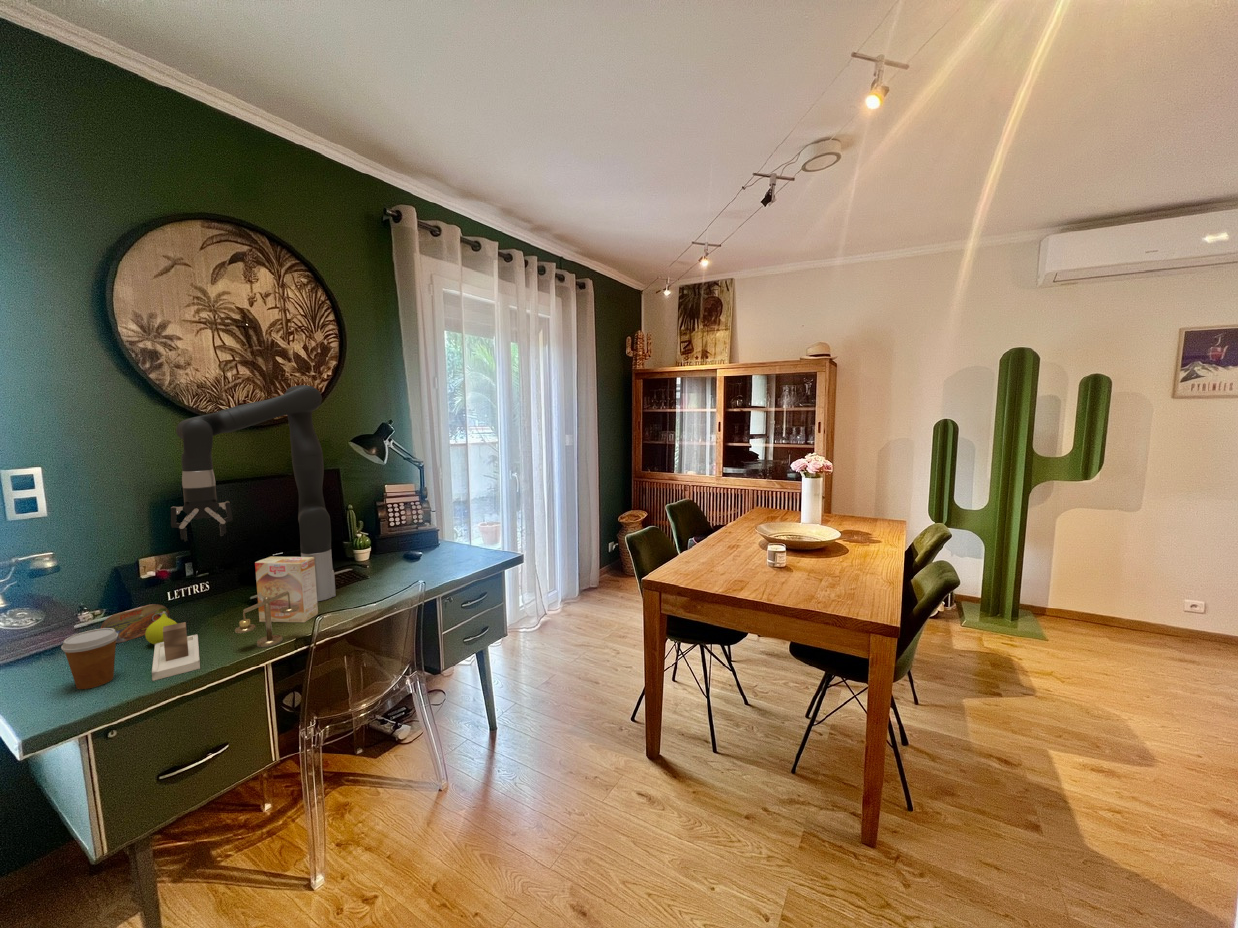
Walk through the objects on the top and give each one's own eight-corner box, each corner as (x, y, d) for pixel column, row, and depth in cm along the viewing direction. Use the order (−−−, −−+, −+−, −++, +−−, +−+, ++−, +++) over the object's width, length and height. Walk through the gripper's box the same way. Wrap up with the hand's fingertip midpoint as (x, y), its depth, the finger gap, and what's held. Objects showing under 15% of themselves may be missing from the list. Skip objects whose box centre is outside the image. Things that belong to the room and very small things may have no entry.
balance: (299, 631, 149) (295, 586, 148) (302, 638, 145) (299, 591, 143) (235, 647, 139) (231, 599, 138) (237, 654, 135) (233, 605, 133)
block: (188, 649, 136) (185, 621, 135) (188, 655, 133) (185, 627, 132) (166, 655, 133) (163, 626, 132) (165, 661, 130) (162, 632, 129)
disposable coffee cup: (72, 697, 115) (66, 648, 114) (61, 685, 120) (56, 638, 119) (128, 678, 123) (123, 632, 122) (116, 668, 128) (111, 624, 127)
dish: (198, 640, 144) (197, 634, 143) (200, 668, 128) (199, 660, 128) (155, 650, 138) (155, 643, 137) (152, 680, 122) (151, 673, 122)
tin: (104, 647, 140) (101, 619, 139) (100, 645, 141) (96, 617, 140) (171, 627, 153) (169, 600, 152) (166, 625, 154) (164, 599, 154)
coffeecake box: (258, 622, 156) (253, 562, 154) (275, 613, 163) (270, 555, 161) (304, 622, 156) (300, 562, 154) (318, 613, 163) (315, 556, 161)
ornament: (176, 635, 147) (172, 603, 146) (183, 641, 143) (180, 608, 142) (143, 644, 141) (139, 611, 140) (150, 651, 137) (146, 616, 136)
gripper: (228, 481, 156) (232, 532, 158) (167, 486, 147) (172, 539, 148) (230, 484, 150) (234, 536, 152) (167, 489, 141) (172, 544, 143)
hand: (204, 537), depth 150 cm, fingers open, 8 cm apart
